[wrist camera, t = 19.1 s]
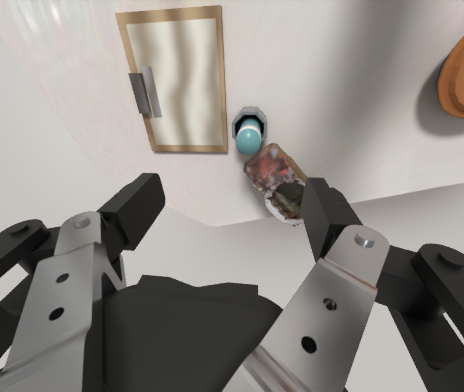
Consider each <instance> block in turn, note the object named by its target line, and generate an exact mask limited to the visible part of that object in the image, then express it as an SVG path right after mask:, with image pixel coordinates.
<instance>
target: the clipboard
mask: <svg viewBox="0 0 464 392" xmlns="http://www.w3.org/2000/svg"><path fill="white" fill-rule="evenodd" d="M115 16H116V19H117V23H118V27H119V30H120V34H121V38H122V41H123V45H124V49H125V53H126V56H127V60H128V64H129V67H130V71H131V73H128V74H129V77H130V81H131V85H132V88H133V92H134V95H135V99H136V103H137V106H138V110H139V113H142V115H143V119H144V123H145V126H146V130H147V134H148V137H149V141H150V145H151V149H152V151H195V152H228V141H227V118H226V96H225V74H224V52H223V30H222V8H221V5H216V6H203V7H190V8H177V9H164V10H151V11H138V12H125V13H115Z"/></svg>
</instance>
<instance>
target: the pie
mask: <svg viewBox="0 0 464 392" xmlns="http://www.w3.org/2000/svg"><path fill="white" fill-rule="evenodd" d="M437 87H438V99H439V102H440V105H441V107H442V109H443V110H444V111H445V112H447V113H448V114H449V115H451V116H454V117H459V118H463V119H464V36H463V37H462V39H461V40H460V41H459V42H458V43H457V45H456V46H455V47H454V48H453V49H452V51H451V53H450V54H449V55H448V57H447V59H446V61H445V62H444V64H443V66H442V68H441V71H440V75H439V78H438V83H437Z"/></svg>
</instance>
